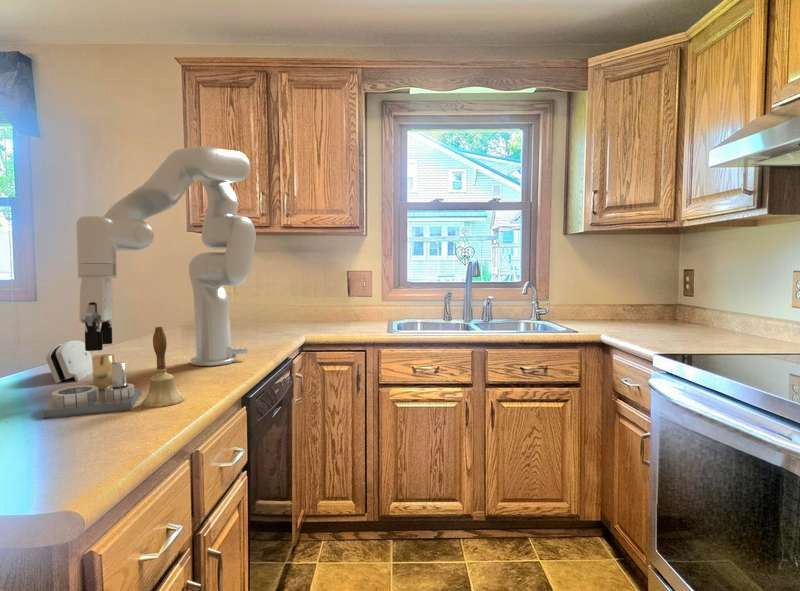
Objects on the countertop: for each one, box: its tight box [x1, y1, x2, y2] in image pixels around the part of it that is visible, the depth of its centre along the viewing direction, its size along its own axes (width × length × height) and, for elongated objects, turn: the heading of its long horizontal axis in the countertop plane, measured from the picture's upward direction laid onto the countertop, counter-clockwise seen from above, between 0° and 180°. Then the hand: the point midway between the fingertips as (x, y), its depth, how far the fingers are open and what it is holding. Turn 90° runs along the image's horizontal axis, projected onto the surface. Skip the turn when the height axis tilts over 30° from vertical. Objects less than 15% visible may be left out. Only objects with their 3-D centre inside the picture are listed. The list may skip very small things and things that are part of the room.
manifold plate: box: [42, 361, 142, 419], centre depth 103 cm, size 15×12×8 cm
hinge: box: [45, 340, 93, 384], centre depth 130 cm, size 17×5×10 cm, turn 13°
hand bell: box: [141, 326, 186, 408], centre depth 105 cm, size 8×8×16 cm
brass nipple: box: [91, 353, 115, 391], centre depth 115 cm, size 4×4×8 cm
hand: (99, 347), depth 114 cm, fingers open, 9 cm apart
